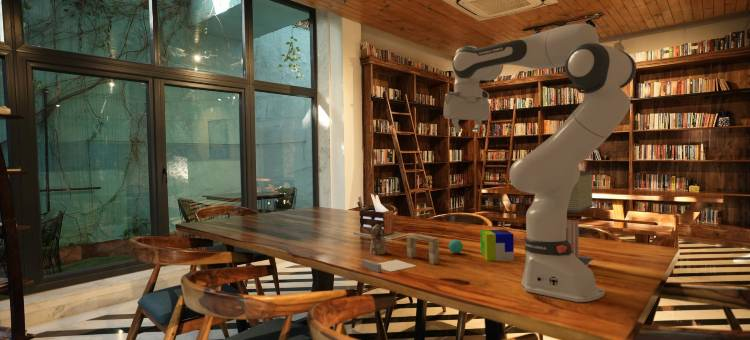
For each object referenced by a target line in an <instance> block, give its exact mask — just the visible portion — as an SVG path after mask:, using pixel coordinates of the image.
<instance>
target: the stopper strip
mask: <svg viewBox="0 0 750 340" xmlns="http://www.w3.org/2000/svg"><path fill="white" fill-rule="evenodd" d="M378 263H379V262H375V261H372V260H369V259H366V258H365V259H362V260H361V267H362V268H365V269H368V270H370V271H371V272H375V273H382V269H381V264H378Z"/></svg>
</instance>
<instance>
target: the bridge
mask: <svg viewBox="0 0 750 340" xmlns="http://www.w3.org/2000/svg"><path fill="white" fill-rule="evenodd" d="M417 240H419V241H426V242H428V255H429V256H428V261H429V262H428V263H429V264H430V265H437V264H440V254H439V252H440V248H439V246H440V245H439V244H440V243H439V241H440V240H439V237H434V236H429V235H425V234H421V233H415V232H410V233H406V257H407V258H409V259H411V258H416V257H417Z"/></svg>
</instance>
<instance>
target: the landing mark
mask: <svg viewBox="0 0 750 340" xmlns="http://www.w3.org/2000/svg"><path fill="white" fill-rule="evenodd" d="M377 263H378V264H381V270H383V271H386V272H390V273H391V272H396V271H397V272H398V271H401V270H402V271H403V270H406V269H411V268H414V267H415V268H416V267H417V265H416V264H413V263H409V262H405V261H402V260H399V259H394V260H388V261H383V262H377Z"/></svg>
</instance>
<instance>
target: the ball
mask: <svg viewBox="0 0 750 340" xmlns="http://www.w3.org/2000/svg"><path fill="white" fill-rule="evenodd" d="M448 248H449V251H450V252H451V253H452V254H460V253H461V252H462V251H463V242H461V241H460V240H459V239H452V240H450V241H449V244H448Z"/></svg>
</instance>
